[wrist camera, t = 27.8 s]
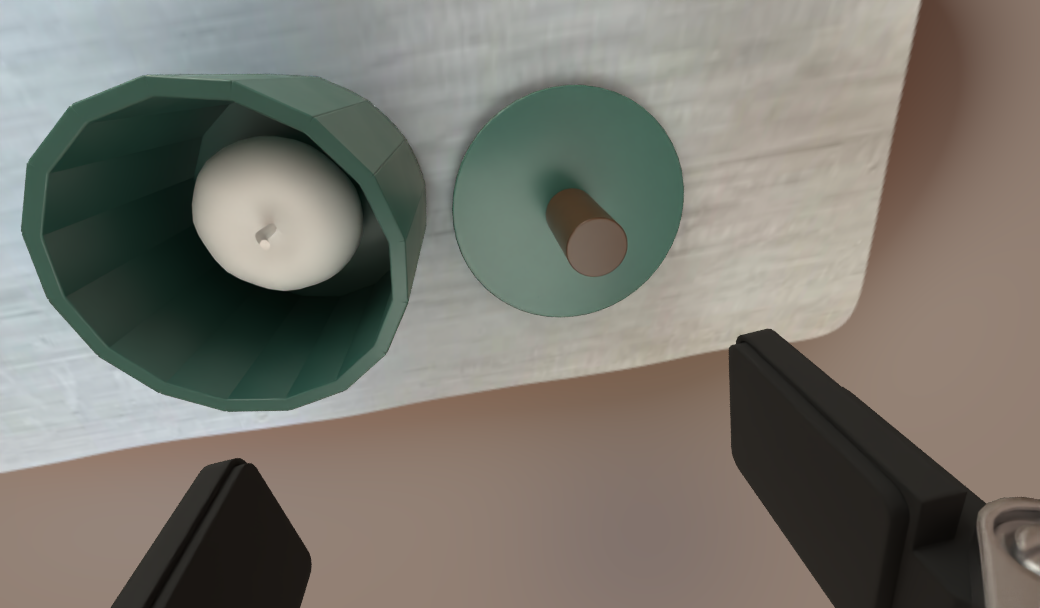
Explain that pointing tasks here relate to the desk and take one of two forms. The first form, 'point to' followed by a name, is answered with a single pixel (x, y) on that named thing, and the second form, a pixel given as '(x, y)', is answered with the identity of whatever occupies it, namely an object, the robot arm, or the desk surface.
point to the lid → (567, 200)
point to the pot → (185, 259)
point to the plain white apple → (277, 213)
